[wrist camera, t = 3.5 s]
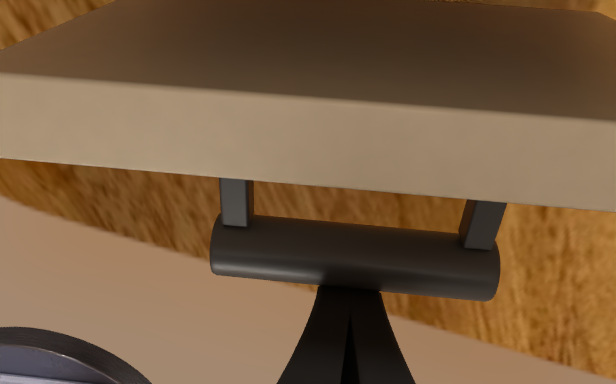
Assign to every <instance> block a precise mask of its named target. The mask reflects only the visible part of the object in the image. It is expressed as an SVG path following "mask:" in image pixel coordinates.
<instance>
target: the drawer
mask: <svg viewBox="0 0 616 384" xmlns="http://www.w3.org/2000/svg"><path fill="white" fill-rule="evenodd" d="M0 158H6V159H17V160H28V161H40V162H51V163H62V164H74V165H85V166H96V167H108V168H119V169H130V170H142V171H153V172H164V173H176V174H187V175H198V176H210V177H219V188H220V204H221V213H220V214H219V215H218V216H217V218H216V221H215V223H214V226H213V230H212V235H211V241H210V266H211V270H212V272H213V273H214V274H216V275H222V276H232V277H242V278H252V279H262V280H272V281H282V282H292V283H302V284H312V285H323V286H333V287H343V288H353V289H363V290H373V291H383V292H393V293H403V294H414V295H424V296H434V297H444V298H454V299H464V300H474V301H484V302H485V301H489V300H491V299H492V298H493V297H494V295H495V293H496V291H497V287H498V283H499V278H500V255H499V250H498V246H497V244H496V242H495V238H496V235H497V232H498V229H499V226H500V223H501V220H502V217H503V214H504V211H505V208H506V205H507V203H516V204H527V205H538V206H550V207H561V208H572V209H584V210H595V211H606V212H616V21H615V20H613V19H611V18H609V17H607V16H605V15H603V14H601V13H599V12H588V11H573V10H558V9H543V8H529V7H514V6H499V5H484V4H470V3H455V2H440V1H425V0H116V1H114V2H111V3H109V4H107V5H104V6H102V7H100V8H98V9H95V10H93V11H91V12H88V13H86V14H84V15H81V16H79V17H77V18H74V19H72V20H70V21H67V22H65V23H63V24H60V25H58V26H56V27H53V28H51V29H49V30H46V31H44V32H42V33H40V34H37V35H35V36H33V37H30V38H28V39H26V40H23V41H21V42H19V43H16V44H14V45H12V46H9V47H7V48H5V49H2V50H0ZM253 180H255V181H266V182H278V183H289V184H300V185H312V186H323V187H334V188H346V189H357V190H368V191H380V192H391V193H402V194H414V195H425V196H436V197H448V198H459V199H467V201H466V205H465V208H464V212H463V216H462V219H461V223H460V227H459V230H458V231H459V234H458V233H447V232H436V231H426V230H415V229H404V228H393V227H382V226H371V225H360V224H349V223H339V222H328V221H317V220H306V219H295V218H284V217H273V216H262V215H253V213H254V188H253Z"/></svg>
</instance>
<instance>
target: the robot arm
mask: <svg viewBox="0 0 616 384" xmlns="http://www.w3.org/2000/svg"><path fill="white" fill-rule="evenodd" d="M0 384H93V383H85V382H76V381H67V380H58V379H49V378H40V377H31V376H22V375H13V374H4V373H0ZM277 384H416V383H415V381H414V379H413V377H412V375H411V373H410V371H409V368H408V366H407V364H406V362H405V359H404V357H403V355H402V353H401V351H400V348H399V346H398V343H397V341H396V338H395V336H394V333H393V331H392V328H391V325H390V323H389V320H388V317H387V314H386V311H385V307H384V304H383V300H382V296H381V293H380V292H379V291H373V290H363V289H353V288H343V287H333V286H323V285H321V286H319V287H318V290H317V295H316V299H315V302H314V306H313V309H312V311H311V314H310V317H309V319H308V322H307V324H306V327H305V329H304V331H303V334H302V336H301V338H300V340H299V342H298V344H297V346H296V348H295V351H294V353H293V355H292V357H291V359H290V361H289V362H288V364H287V366H286V368H285V370H284V371H283V373H282V375H281V377H280V379H279V380H278V382H277Z"/></svg>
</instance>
